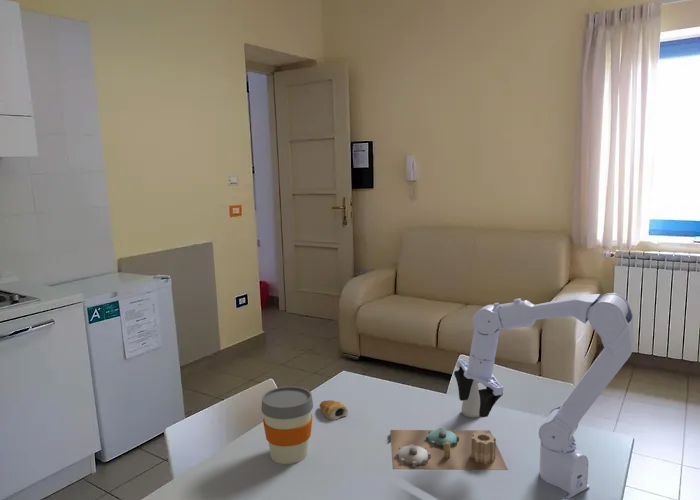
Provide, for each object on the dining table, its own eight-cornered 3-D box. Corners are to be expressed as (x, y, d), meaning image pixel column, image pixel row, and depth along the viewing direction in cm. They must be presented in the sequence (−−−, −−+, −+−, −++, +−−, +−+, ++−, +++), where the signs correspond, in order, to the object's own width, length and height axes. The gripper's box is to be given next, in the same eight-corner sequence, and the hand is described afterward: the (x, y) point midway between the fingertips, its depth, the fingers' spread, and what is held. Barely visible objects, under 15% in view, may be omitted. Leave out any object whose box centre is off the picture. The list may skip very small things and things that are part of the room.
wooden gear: (499, 457, 121) (500, 437, 120) (486, 466, 117) (487, 446, 117) (479, 448, 125) (480, 429, 124) (466, 457, 121) (466, 437, 121)
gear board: (489, 434, 134) (490, 417, 133) (507, 474, 116) (508, 455, 116) (390, 434, 135) (390, 417, 135) (393, 473, 117) (392, 454, 117)
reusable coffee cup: (321, 444, 131) (319, 388, 129) (304, 471, 119) (302, 410, 117) (276, 438, 134) (273, 383, 132) (254, 464, 122) (251, 405, 120)
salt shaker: (480, 413, 146) (481, 369, 144) (484, 422, 140) (485, 377, 139) (460, 412, 147) (460, 369, 145) (462, 422, 141) (463, 377, 139)
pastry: (314, 410, 150) (313, 397, 150) (333, 404, 154) (333, 392, 154) (330, 422, 143) (330, 409, 142) (350, 416, 146) (350, 403, 146)
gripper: (450, 344, 124) (442, 394, 127) (489, 371, 111) (479, 426, 115) (473, 341, 127) (464, 391, 130) (514, 368, 115) (503, 422, 118)
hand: (473, 407), depth 123 cm, fingers open, 7 cm apart
